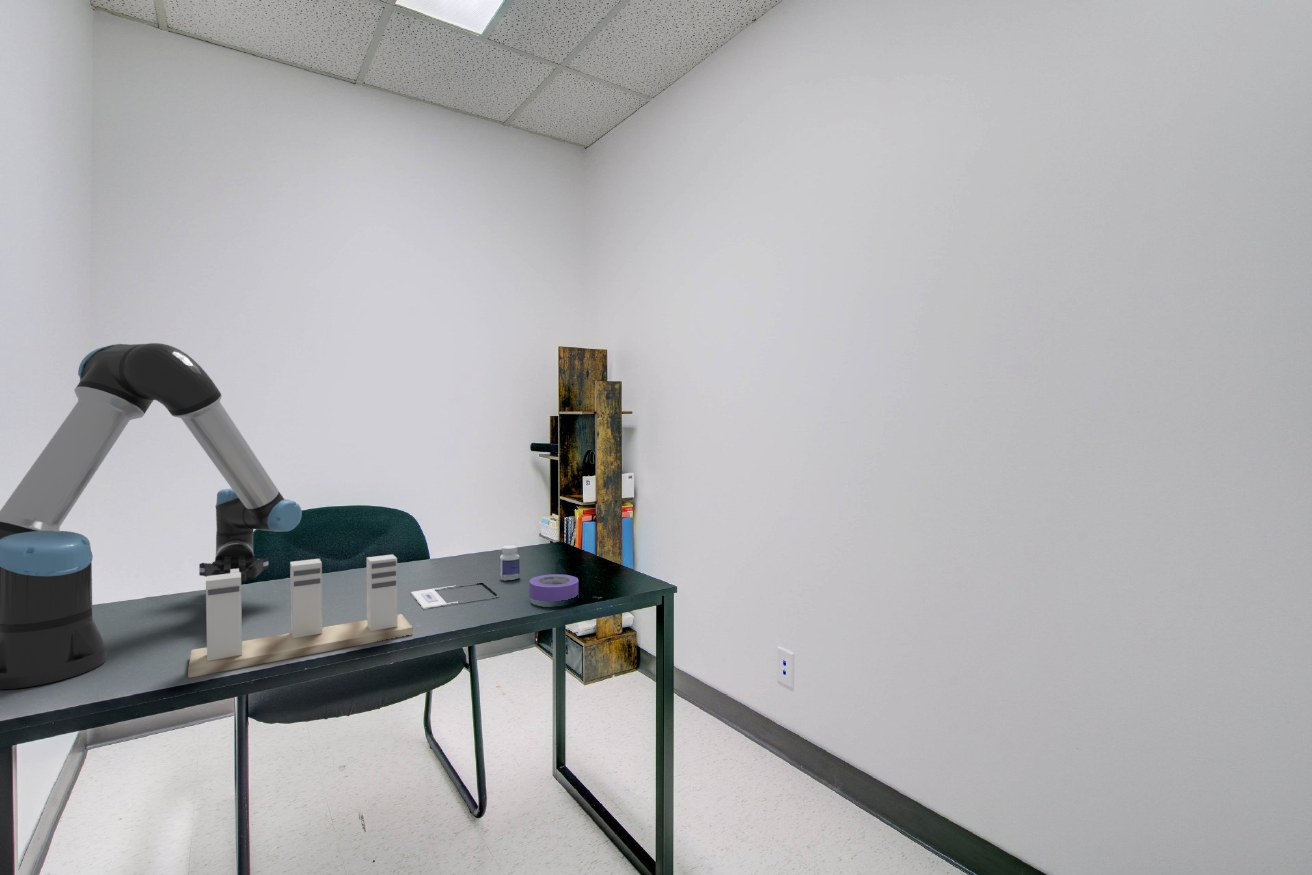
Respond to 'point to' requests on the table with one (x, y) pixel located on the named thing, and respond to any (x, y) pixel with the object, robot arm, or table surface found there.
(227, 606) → the tile
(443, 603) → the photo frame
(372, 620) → the tile
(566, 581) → the tape roll
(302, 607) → the white tall block
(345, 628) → the key base
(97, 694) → the table surface
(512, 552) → the pill bottle
